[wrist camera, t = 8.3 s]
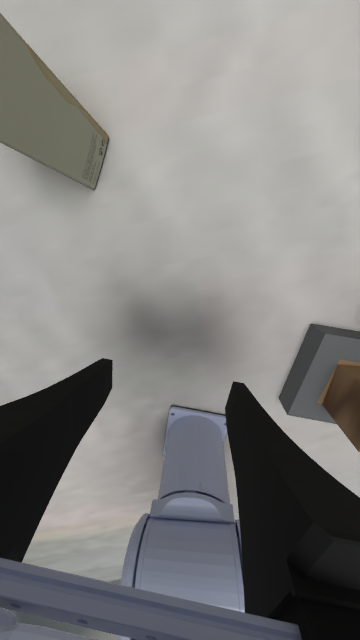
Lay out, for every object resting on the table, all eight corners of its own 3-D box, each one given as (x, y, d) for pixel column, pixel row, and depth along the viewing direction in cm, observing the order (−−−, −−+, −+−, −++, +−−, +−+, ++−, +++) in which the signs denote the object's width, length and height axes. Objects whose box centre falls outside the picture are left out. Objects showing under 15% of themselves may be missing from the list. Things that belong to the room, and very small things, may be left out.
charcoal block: (358, 410, 24) (380, 432, 21) (277, 395, 24) (287, 414, 21) (405, 337, 20) (439, 352, 17) (308, 321, 20) (325, 333, 17)
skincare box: (111, 137, 16) (-110, -136, 5) (95, 193, 17) (-98, 95, 6) (39, 94, 15) (-415, -337, 4) (29, 156, 17) (-316, -26, 6)
